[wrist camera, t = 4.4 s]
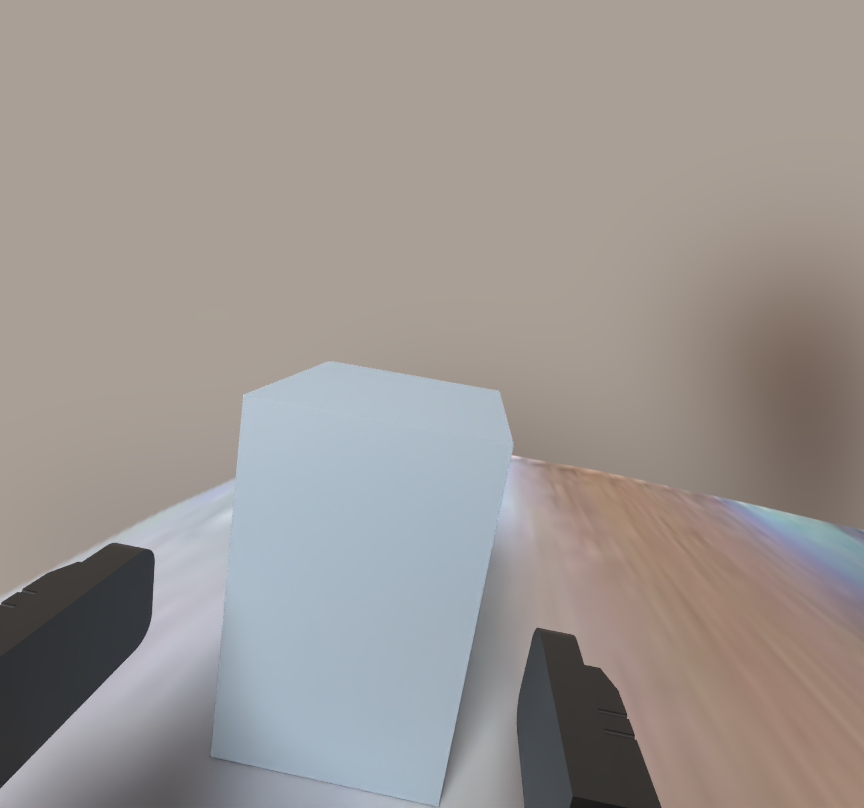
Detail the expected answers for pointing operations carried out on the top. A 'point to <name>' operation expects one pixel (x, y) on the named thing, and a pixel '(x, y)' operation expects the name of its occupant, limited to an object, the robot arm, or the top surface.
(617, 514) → the top surface
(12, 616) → the robot arm
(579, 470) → the top surface
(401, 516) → the tall pale blue box
